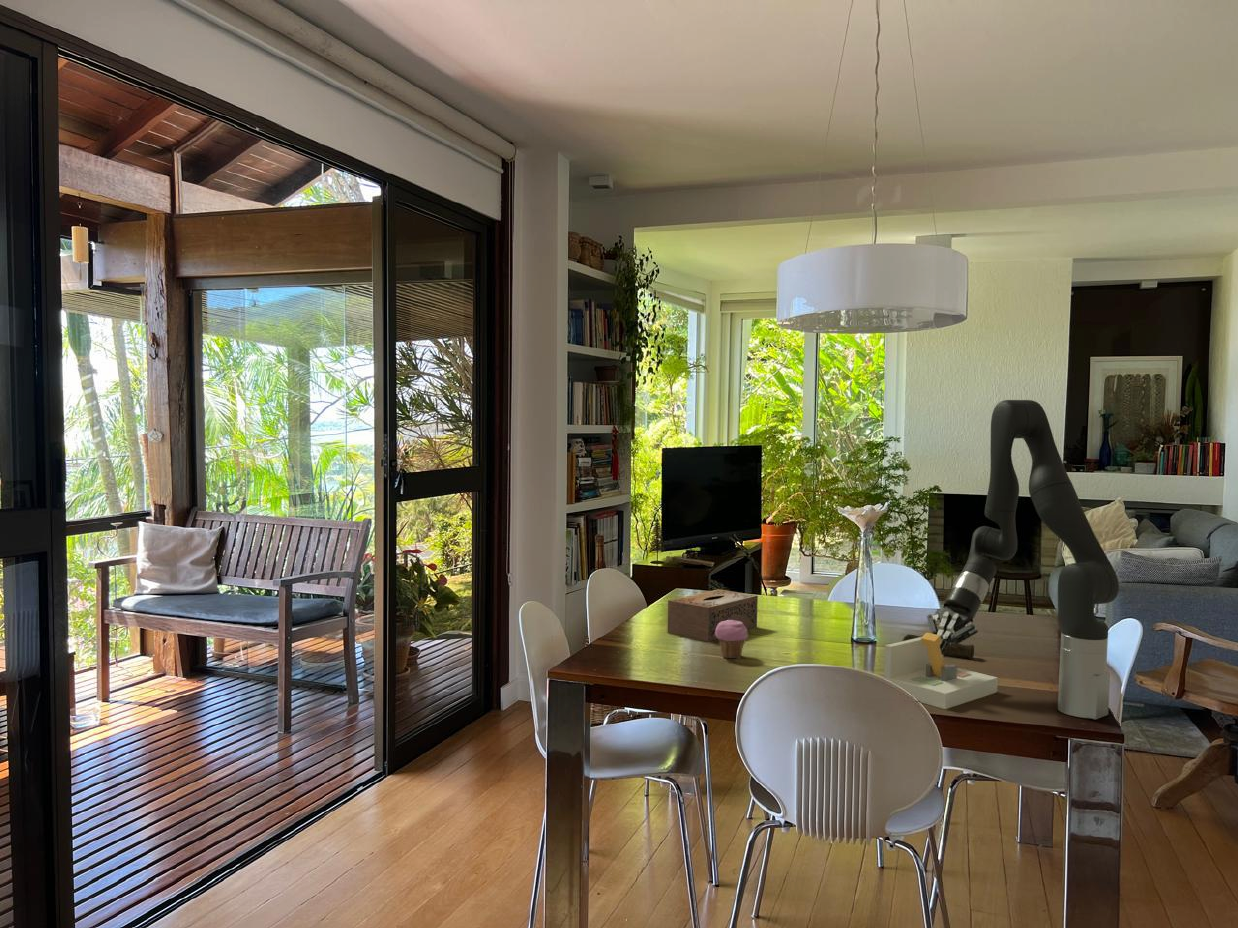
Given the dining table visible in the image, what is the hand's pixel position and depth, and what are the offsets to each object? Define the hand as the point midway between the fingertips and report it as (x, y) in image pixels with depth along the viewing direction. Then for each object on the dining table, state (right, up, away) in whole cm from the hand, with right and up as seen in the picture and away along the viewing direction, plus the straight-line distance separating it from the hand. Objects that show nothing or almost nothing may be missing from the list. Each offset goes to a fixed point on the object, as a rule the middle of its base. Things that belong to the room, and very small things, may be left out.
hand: (936, 653), depth 217 cm
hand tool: (+13, -8, +37) cm, 40 cm away
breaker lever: (+1, -6, +1) cm, 6 cm away
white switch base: (+1, -9, +1) cm, 9 cm away
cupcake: (-45, -7, +30) cm, 54 cm away
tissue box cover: (-46, -6, +60) cm, 76 cm away
